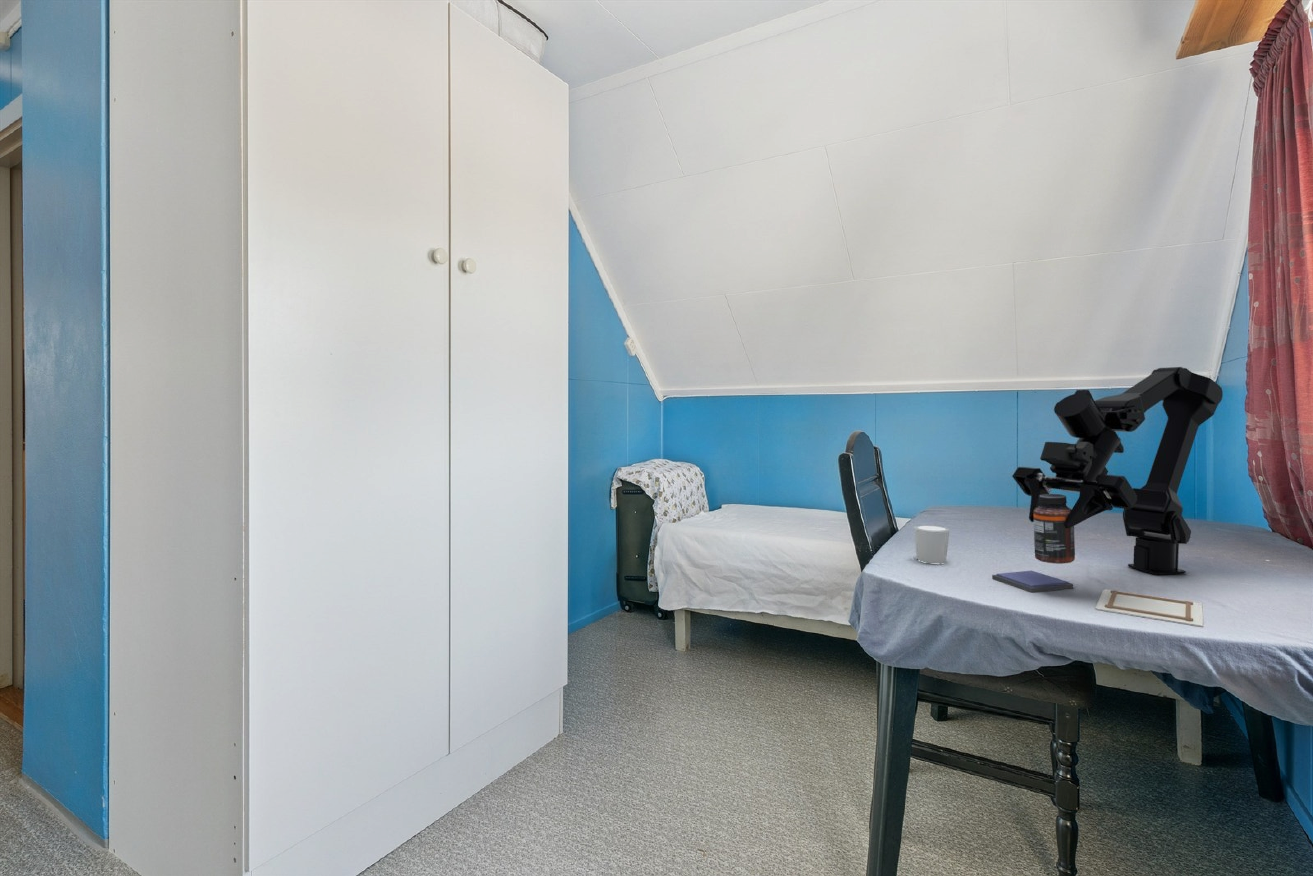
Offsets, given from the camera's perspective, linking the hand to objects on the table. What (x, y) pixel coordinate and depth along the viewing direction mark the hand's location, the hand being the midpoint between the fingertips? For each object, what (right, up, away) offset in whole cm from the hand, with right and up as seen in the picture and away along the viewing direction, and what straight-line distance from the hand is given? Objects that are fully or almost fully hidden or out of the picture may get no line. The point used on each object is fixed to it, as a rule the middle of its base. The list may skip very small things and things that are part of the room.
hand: (1048, 523), depth 109 cm
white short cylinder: (-10, -11, +23) cm, 28 cm away
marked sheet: (+12, -12, -7) cm, 19 cm away
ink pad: (+1, -12, +7) cm, 14 cm away
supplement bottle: (+2, -7, +1) cm, 7 cm away
